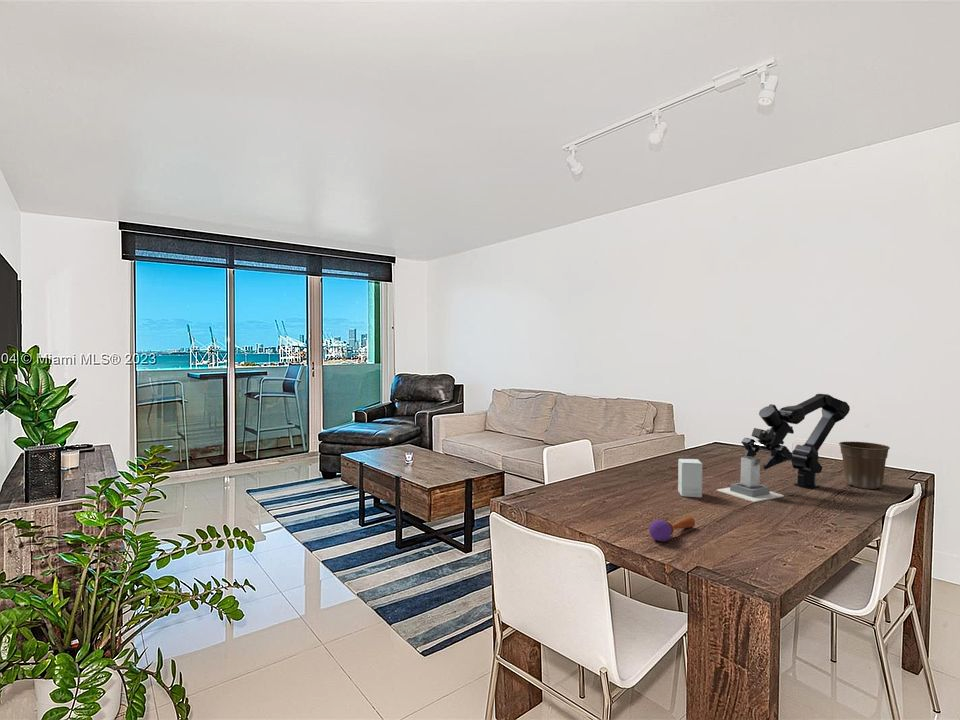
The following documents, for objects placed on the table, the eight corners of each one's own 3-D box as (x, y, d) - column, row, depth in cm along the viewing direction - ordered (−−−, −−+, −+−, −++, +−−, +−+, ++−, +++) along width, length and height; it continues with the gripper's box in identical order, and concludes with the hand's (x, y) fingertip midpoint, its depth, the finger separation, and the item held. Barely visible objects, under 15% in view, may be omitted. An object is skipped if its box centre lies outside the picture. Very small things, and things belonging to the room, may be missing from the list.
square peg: (749, 490, 199) (750, 456, 199) (759, 493, 195) (760, 458, 194) (740, 491, 198) (741, 457, 197) (749, 494, 193) (751, 459, 193)
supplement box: (702, 497, 191) (702, 463, 191) (681, 496, 193) (681, 462, 192) (698, 492, 198) (698, 459, 198) (677, 490, 200) (678, 458, 199)
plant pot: (832, 478, 217) (833, 439, 217) (879, 481, 212) (880, 442, 212) (845, 488, 202) (846, 447, 202) (896, 492, 197) (897, 450, 196)
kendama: (701, 517, 159) (666, 527, 146) (696, 535, 160) (661, 547, 147) (683, 508, 164) (647, 517, 151) (678, 526, 164) (643, 537, 151)
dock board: (745, 487, 207) (745, 478, 207) (783, 498, 193) (783, 488, 193) (716, 492, 200) (716, 483, 200) (754, 504, 186) (754, 494, 186)
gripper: (745, 417, 207) (722, 447, 203) (787, 424, 189) (763, 457, 186) (760, 435, 210) (738, 465, 206) (802, 444, 192) (779, 477, 189)
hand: (753, 465), depth 197 cm, fingers open, 9 cm apart
